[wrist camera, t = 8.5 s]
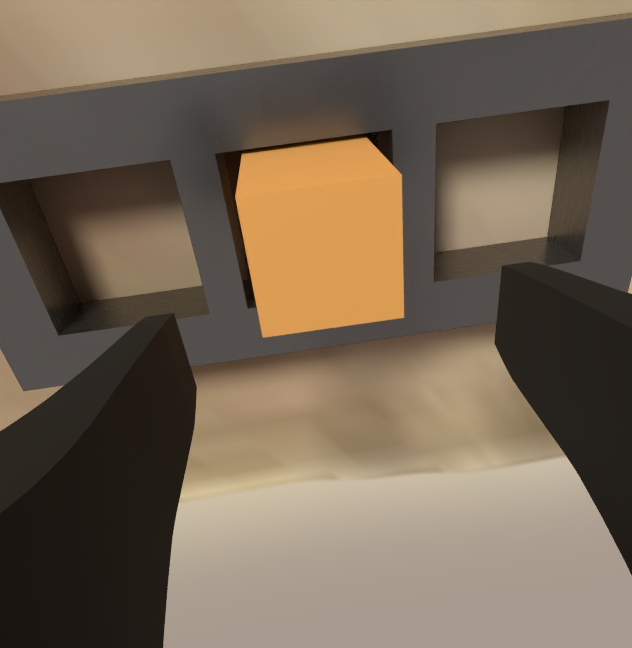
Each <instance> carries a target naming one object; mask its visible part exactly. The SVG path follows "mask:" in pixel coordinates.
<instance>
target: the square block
mask: <svg viewBox="0 0 632 648" xmlns="http://www.w3.org/2000/svg"><path fill="white" fill-rule="evenodd" d="M235 199H236V204H237V209H238V214H239V219H240V224H241V229H242V234H243V239H244V245H245V250H246V255H247V260H248V265H249V270H250V275H251V280H252V285H253V290H254V296H255V301H256V306H257V311H258V316H259V321H260V326H261V331H262V336H263V338H265V337H272V336H279V335H286V334H293V333H300V332H307V331H314V330H321V329H328V328H335V327H342V326H349V325H356V324H363V323H371V322H378V321H385V320H392V319H399V318H404V278H403V216H402V174H401V173H400V172H399V171H398V170H397V169H396V168H395V167H394V166H393V165H392V164H391V163H390V162H389V161H388V160H387V158H386V157H385V156H384V155H383V154H382V153H381V152H380V151H379V150H378V149H377V148H376V147H375V146H374V145H373V144H372V143H371V142H370V140H369V139H368V138H367V137H366V136H365V135H364V134H356V135H349V136H341V137H334V138H327V139H319V140H312V141H304V142H297V143H290V144H282V145H275V146H268V147H260V148H253V149H246V150H242V156H241V163H240V169H239V176H238V182H237V189H236V195H235Z"/></svg>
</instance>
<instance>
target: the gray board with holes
mask: <svg viewBox="0 0 632 648" xmlns="http://www.w3.org/2000/svg"><path fill="white" fill-rule="evenodd" d="M562 106H566V111H565V118H564V125H563V132H562V139H561V146H560V153H559V160H558V167H557V174H556V181H555V188H554V195H553V202H552V209H551V216H550V223H549V230H548V237H544V238H537V239H530V240H523V241H516V242H509V243H502V244H495V245H488V246H481V247H474V248H467V249H460V250H453V251H446V252H439V253H434V232H435V166H436V124H437V123H444V122H452V121H459V120H466V119H474V118H481V117H488V116H496V115H503V114H510V113H518V112H525V111H533V110H540V109H547V108H555V107H562ZM371 132H377V140H378V150H379V151H380V152H381V153H382V154H383V155H384V156H385V157H386V158H387V160H388V161H389V162H390V163H391V164H392V165H393V166H394V167H395V168H396V169H397V170H398V171H399V172H400V173H401V174H402V216H403V278H404V318H399V319H392V320H385V321H378V322H371V323H363V324H356V325H349V326H342V327H335V328H328V329H321V330H314V331H307V332H300V333H293V334H286V335H279V336H272V337H265V338H263V336H262V331H261V326H260V321H259V316H258V311H257V306H256V301H255V296H254V290H253V285H252V280H251V279H249V276H248V271H247V266H246V261H245V256H244V251H243V246H242V241H241V237H240V232H239V227H238V222H237V217H236V212H235V207H234V202H233V197H232V192H231V187H230V182H229V177H228V172H227V167H226V162H225V157H224V152H231V151H238V150H246V149H253V148H260V147H268V146H275V145H282V144H290V143H297V142H304V141H312V140H319V139H327V138H334V137H341V136H349V135H356V134H363V133H371ZM165 160H170V161H171V165H172V169H173V173H174V177H175V181H176V184H177V188H178V192H179V196H180V200H181V204H182V208H183V212H184V215H185V219H186V223H187V227H188V231H189V235H190V239H191V242H192V246H193V250H194V254H195V258H196V262H197V266H198V269H199V273H200V277H201V281H202V285H203V286H199V287H192V288H185V289H178V290H171V291H164V292H157V293H150V294H143V295H136V296H129V297H121V298H114V299H107V300H100V301H93V302H86V303H79V300H78V298H77V295H76V293H75V291H74V288H73V286H72V283H71V281H70V278H69V276H68V274H67V271H66V269H65V266H64V264H63V262H62V259H61V257H60V254H59V252H58V249H57V247H56V245H55V242H54V240H53V237H52V235H51V233H50V230H49V228H48V225H47V223H46V220H45V218H44V216H43V213H42V211H41V208H40V206H39V204H38V201H37V199H36V196H35V194H34V191H33V189H32V187H31V184H30V182H29V179H32V178H40V177H47V176H54V175H62V174H69V173H76V172H84V171H91V170H99V169H106V168H113V167H121V166H128V165H135V164H143V163H150V162H157V161H165ZM524 262H533V263H538V264H542V265H546V266H549V267H553V268H556V269H559V270H562V271H565V272H568V273H571V274H574V275H577V276H580V277H582V278H585V279H588V280H591V281H594V282H597V283H600V284H603V285H606V286H608V287H611V288H614V289H617V290H620V291H623V292H626V293H628V289H629V285H630V281H631V277H632V13H627V14H620V15H612V16H604V17H597V18H589V19H582V20H574V21H567V22H559V23H551V24H544V25H536V26H529V27H521V28H513V29H506V30H498V31H491V32H483V33H476V34H468V35H460V36H453V37H445V38H438V39H430V40H423V41H415V42H407V43H400V44H392V45H385V46H377V47H370V48H362V49H354V50H347V51H339V52H332V53H324V54H317V55H309V56H301V57H294V58H286V59H279V60H271V61H264V62H256V63H248V64H241V65H233V66H226V67H218V68H211V69H203V70H195V71H188V72H180V73H173V74H165V75H158V76H150V77H142V78H135V79H127V80H120V81H112V82H105V83H97V84H89V85H82V86H74V87H67V88H59V89H52V90H44V91H36V92H29V93H21V94H14V95H6V96H0V349H1V350H2V352H3V354H4V356H5V358H6V360H7V362H8V363H9V365H10V367H11V369H12V371H13V373H14V375H15V376H16V378H17V380H18V382H19V384H20V386H21V388H22V389H23V391H28V390H35V389H42V388H48V387H55V386H62V385H66V384H67V383H68V382H69V381H71V380H72V379H73V378H74V377H75V376H77V375H78V374H79V373H80V372H82V371H83V370H84V369H85V368H87V367H88V366H89V365H90V364H91V363H92V362H94V361H95V360H96V359H97V358H98V357H99V356H100V355H101V354H103V353H104V352H105V351H106V350H107V349H108V348H109V347H111V346H112V345H113V344H114V343H115V342H116V341H117V340H118V339H119V338H121V337H122V336H123V335H124V334H125V333H126V332H127V331H129V330H130V329H131V328H132V327H133V326H134V325H136V324H137V323H138V322H139V321H141V320H142V319H144V318H145V317H148V316H155V315H162V314H169V313H174V314H175V318H176V321H177V324H178V328H179V331H180V334H181V337H182V341H183V344H184V347H185V351H186V354H187V357H188V360H189V364H190V367H193V366H200V365H207V364H213V363H220V362H227V361H234V360H241V359H248V358H255V357H262V356H268V355H275V354H282V353H289V352H296V351H303V350H310V349H317V348H323V347H330V346H337V345H344V344H351V343H358V342H365V341H372V340H378V339H385V338H392V337H399V336H406V335H413V334H420V333H427V332H433V331H440V330H447V329H454V328H461V327H468V326H475V325H482V324H488V323H495V322H497V312H498V301H499V291H500V280H501V269H502V266H503V265H510V264H517V263H524Z"/></svg>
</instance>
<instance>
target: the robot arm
mask: <svg viewBox="0 0 632 648" xmlns="http://www.w3.org/2000/svg"><path fill="white" fill-rule="evenodd" d="M495 345H496V347H497V349H498V352H499V354H500V356H501V358H502V360H503V362H504V364H505V366H506V368H507V370H508V372H509V374H510V376H511V378H512V379H513V381H514V382H515V384H516V385H517V387H518V388H519V390H520V391H521V393H522V394H523V395H524V397H525V398H526V400H527V401H528V403H529V404H530V405H531V407H532V408H533V410H534V411H535V412H536V414H537V415H538V417H539V418H540V419H541V421H542V422H543V424H544V425H545V427H546V428H547V429H548V431H549V432H550V434H551V435H552V436H553V438H554V439H555V441H556V442H557V443H558V445H559V446H560V448H561V449H562V450H563V452H564V453H565V455H566V456H567V458H568V459H569V461H570V462H571V464H572V465H573V467H574V468H575V470H576V471H577V473H578V475H579V476H580V478H581V480H582V482H583V483H584V485H585V487H586V489H587V491H588V492H589V494H590V496H591V498H592V500H593V502H594V503H595V505H596V507H597V509H598V510H599V512H600V514H601V516H602V518H603V520H604V522H605V524H606V526H607V527H608V529H609V531H610V533H611V535H612V537H613V539H614V541H615V543H616V545H617V547H618V549H619V551H620V553H621V554H622V556H623V558H624V560H625V562H626V564H627V566H628V568H629V570H630V573H631V575H632V294H630V293H626V292H623V291H620V290H617V289H614V288H611V287H608V286H606V285H603V284H600V283H597V282H594V281H591V280H588V279H585V278H582V277H580V276H577V275H574V274H571V273H568V272H565V271H562V270H559V269H556V268H553V267H549V266H546V265H542V264H538V263H533V262H524V263H517V264H510V265H503V266H502V269H501V280H500V291H499V301H498V312H497V323H496V334H495ZM196 390H197V387H196V383H195V380H194V377H193V374H192V370H191V367H190V364H189V360H188V357H187V354H186V351H185V347H184V344H183V341H182V337H181V334H180V331H179V328H178V324H177V321H176V318H175V314H174V313H169V314H162V315H155V316H148V317H145V318H144V319H142V320H141V321H139V322H138V323H137V324H136V325H134V326H133V327H132V328H131V329H130V330H129V331H127V332H126V333H125V334H124V335H123V336H122V337H121V338H119V339H118V340H117V341H116V342H115V343H114V344H113V345H112V346H111V347H109V348H108V349H107V350H106V351H105V352H104V353H103V354H101V355H100V356H99V357H98V358H97V359H96V360H95V361H94V362H92V363H91V364H90V365H89V366H88V367H87V368H85V369H84V370H83V371H82V372H80V373H79V374H78V375H77V376H75V377H74V378H73V379H72V380H71V381H69V382H68V383H67V384H66V385H64V386H63V387H62V388H61V389H59V390H58V391H57V392H56V393H54V394H53V395H52V396H51V397H49V398H48V399H47V400H45V401H44V402H43V403H41V404H40V405H38V406H37V407H36V408H34V409H33V410H32V411H30V412H29V413H27V414H26V415H24V416H23V417H21V418H20V419H18V420H17V421H15V422H14V423H12V424H11V425H9V426H8V427H6V428H5V429H3V430H2V431H0V648H163V639H164V624H165V611H166V599H167V586H168V575H169V565H170V555H171V544H172V536H173V530H174V524H175V517H176V512H177V507H178V503H179V498H180V493H181V489H182V484H183V479H184V474H185V470H186V465H187V460H188V455H189V450H190V446H191V441H192V436H193V430H194V424H195V410H196Z"/></svg>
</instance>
